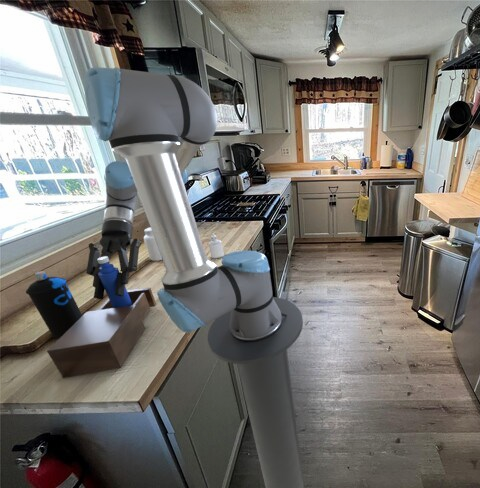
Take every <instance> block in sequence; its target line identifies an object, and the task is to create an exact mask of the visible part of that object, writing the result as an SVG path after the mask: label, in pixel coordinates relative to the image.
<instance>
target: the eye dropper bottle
mask: <svg viewBox="0 0 480 488" xmlns="http://www.w3.org/2000/svg"><path fill="white" fill-rule="evenodd" d="M210 239H211V240H210V241H209V242H208V248H209V252H210V256H211V258H212V259H220V258H223V257H224V256H225V253H224V248H223V244H222V240H220V239H218V238H217V235H215V233H214V232H213V233H211V236H210Z"/></svg>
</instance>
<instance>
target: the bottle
mask: <svg viewBox="0 0 480 488" xmlns="http://www.w3.org/2000/svg"><path fill="white" fill-rule="evenodd" d="M97 260H98V262H99V264H100V265H101V267H100V268H99V269H100V272H99V273H98V275H99V277H100V280H101V282H102V284H103V286H104V289H105V290H104V292H105V293H106V295H107V298H108V299H109V300H110V302H111V304H112V307H113V308H117V307H124V306H131V305H133V304H132V302H131V300H130V297H129V295H128V292H127V288H126V286H125V289H124V296H118V295H115V291H116V283H117V274H118V273H119V272H120V269H119V268H118V267H116V266H115V265H114V264H113V263H111V262H110V261H109V258H108V256H104V257H100V256H99V258H98V259H97Z"/></svg>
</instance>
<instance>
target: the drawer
mask: <svg viewBox="0 0 480 488" xmlns="http://www.w3.org/2000/svg"><path fill="white" fill-rule="evenodd" d="M126 290H127V289H126ZM127 292H128V295H129V297H130V300H131V302H132V304H133V305H136V306H137V308H138V311H139V313H140V316H141V318H142V321H143V320H144V319H145V318H146V316H147V315H148V313H149V312H150V311H151V308H153V307H156V306H157V302H156V299H155V296H154V294H153V291H152V288H151V287H144V288H135V289H128V290H127ZM110 308H113V307H112V304H111V302H110V300H109V298H108V299H107V300H106V301H105V302H104V303H103V304H102V305H101V306H100V307H99V308H98V309H97V310H103V309H110ZM143 322H144V321H143Z"/></svg>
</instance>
